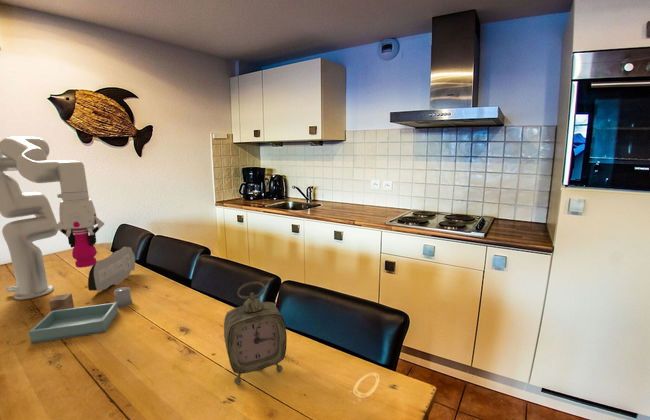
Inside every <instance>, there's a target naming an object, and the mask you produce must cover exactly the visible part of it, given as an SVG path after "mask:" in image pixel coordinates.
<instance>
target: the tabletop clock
mask: <svg viewBox="0 0 650 420" xmlns="http://www.w3.org/2000/svg"><path fill="white" fill-rule="evenodd" d="M252 285H260V286H261V287H263V290H262V291H261V292H259V293H257V294H255V293H254V292H250V293H249V295H247V296H246V295H240V292H241V290H242V289H243V288H245V287H247V286H252ZM265 291H266V286H265V284H264V283H263V282H260V281H250V282H247V283H244V284H242V285H240V287H239V288H238V290H237V293H236V294H237V296H238V297H239V298H241V299H243V300H245V301H244V302H243V304H242V305H241V306H238V307H235V308H232V309H230V310H229V311H227V312H226V314H225V315H224V319H223V321H224V322H223V338H224V342H225V348H226V353H227V356H228V360H229V361H228V362H229V365H230V368H231V370H232V371H233V373H234V374H237V377H235V379H234V383H235V384H236V385H240V384H241V382H242V378H241V376H242V374H248V373H252V372H256V371H260V370H264V369H266V368H269V367H272V366H276V368H275V369H276V372H277V373H281V372H282V371H283V366H282V365H281V364H279V363H280V362H283V360H284V359H285V356H286V352H287V340H288V338H287V329H286V323H285V318H284V317H283V315H282V314H281V312H280V310H279V309H278V308H277V306H276V305H275V303H274V302H272V301H261V299H259V298H258V297H260V296H262V295H263V294H264V293H265Z"/></svg>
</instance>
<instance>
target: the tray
mask: <svg viewBox="0 0 650 420" xmlns="http://www.w3.org/2000/svg"><path fill="white" fill-rule="evenodd" d="M118 308H119V307H117V302H109V303H108V302H107V303H103V304H96V305H95V304H94V305H86V306H81V307H74V308H70V309H63V310H55V311H51V310H50V312H49V313H48V314H47V315H45V316H44V317H43V318H42V319H41V320H40V321H39V322H38V323H37V324H36V325H35V326H34V327H32V328H31V329H30V330H29V331H28V334H29V339H30V344H36V343H37V344H39V343H45V342H50V341H57V340H63V339H65V340H66V339H70V338H77V337H83V336H89V335H90V336H91V335H95V334H96V335H97V334H104V333H106V331H107V330H108V328H109V327H110V326H111V324H112V323H113V321H114V320H115V318H116V317H117V315H118V314H119V309H118ZM117 313H118V314H117ZM115 316H116V317H115ZM113 319H114V320H113ZM111 322H112V323H111ZM109 325H110V326H109Z"/></svg>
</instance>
